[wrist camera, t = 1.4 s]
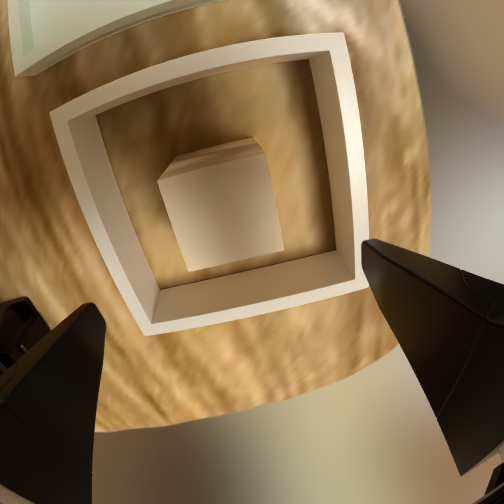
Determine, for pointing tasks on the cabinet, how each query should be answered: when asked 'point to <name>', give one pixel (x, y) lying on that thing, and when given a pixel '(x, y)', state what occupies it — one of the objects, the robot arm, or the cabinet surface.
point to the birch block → (222, 204)
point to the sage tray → (76, 26)
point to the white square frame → (248, 282)
